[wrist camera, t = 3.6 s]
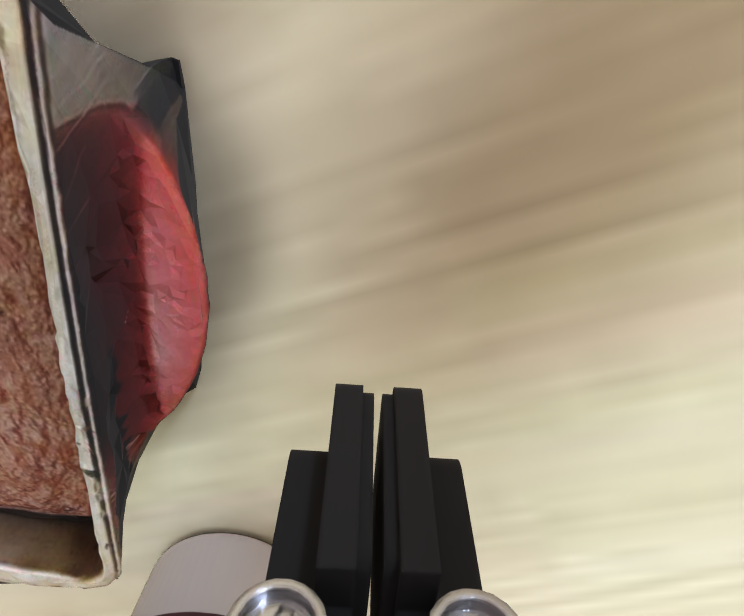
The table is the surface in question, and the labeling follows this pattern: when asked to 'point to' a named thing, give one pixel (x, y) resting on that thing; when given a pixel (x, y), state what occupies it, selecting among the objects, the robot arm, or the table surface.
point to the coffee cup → (203, 575)
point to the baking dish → (88, 287)
